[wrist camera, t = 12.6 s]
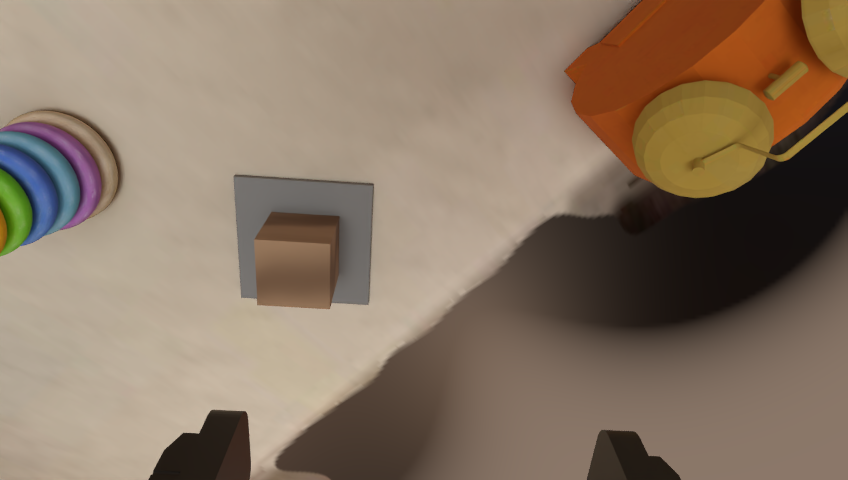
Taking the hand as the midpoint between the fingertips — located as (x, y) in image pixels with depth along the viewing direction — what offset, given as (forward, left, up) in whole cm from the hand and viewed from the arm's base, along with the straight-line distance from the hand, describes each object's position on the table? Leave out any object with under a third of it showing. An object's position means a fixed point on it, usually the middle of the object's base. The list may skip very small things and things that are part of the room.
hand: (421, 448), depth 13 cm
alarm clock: (-7, +15, -30) cm, 35 cm away
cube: (+9, -8, -30) cm, 32 cm away
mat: (+9, -8, -30) cm, 32 cm away
